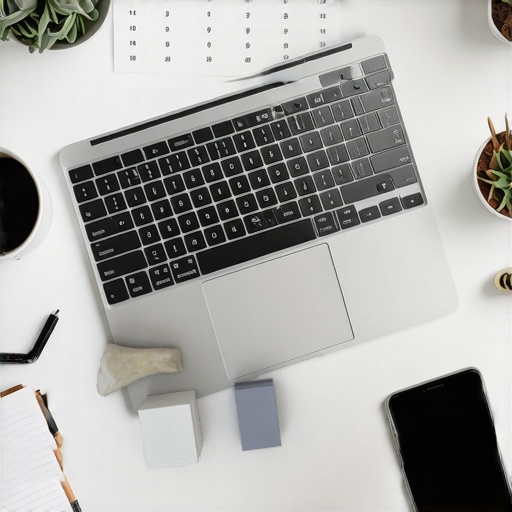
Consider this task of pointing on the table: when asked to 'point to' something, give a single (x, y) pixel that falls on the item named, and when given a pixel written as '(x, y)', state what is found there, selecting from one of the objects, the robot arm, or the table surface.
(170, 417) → the white book
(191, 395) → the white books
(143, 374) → the stone
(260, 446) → the grey-blue block
